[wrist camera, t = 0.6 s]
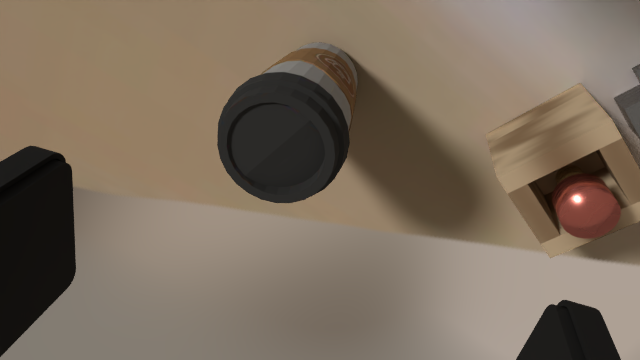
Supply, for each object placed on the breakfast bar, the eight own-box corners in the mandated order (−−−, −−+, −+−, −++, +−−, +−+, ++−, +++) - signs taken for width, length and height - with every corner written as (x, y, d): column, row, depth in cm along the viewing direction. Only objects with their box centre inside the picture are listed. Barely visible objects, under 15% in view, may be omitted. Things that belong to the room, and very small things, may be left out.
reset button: (549, 153, 37) (567, 188, 32) (602, 157, 36) (628, 194, 32) (538, 195, 39) (554, 235, 34) (589, 200, 38) (611, 241, 33)
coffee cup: (390, 84, 42) (373, 161, 29) (319, 141, 46) (276, 232, 33) (323, 6, 40) (273, 52, 27) (255, 73, 44) (182, 141, 31)
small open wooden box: (531, 204, 45) (550, 258, 38) (486, 134, 43) (496, 178, 36) (624, 161, 42) (663, 211, 35) (580, 82, 39) (612, 119, 33)
